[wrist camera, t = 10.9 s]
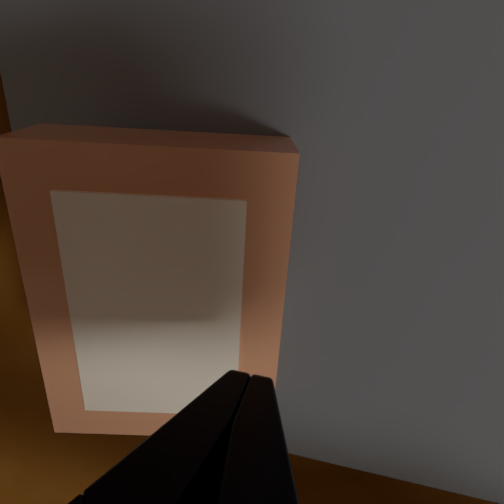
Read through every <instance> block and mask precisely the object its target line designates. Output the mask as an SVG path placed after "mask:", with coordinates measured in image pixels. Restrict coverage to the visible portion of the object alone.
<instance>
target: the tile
mask: <svg viewBox="0 0 504 504" xmlns="http://www.w3.org/2000/svg"><path fill="white" fill-rule="evenodd" d="M299 155H300V153H299V152H298V150H297V148H296V146H295V144H294V143H293V141H292V139H291V137H283V136H264V135H246V134H228V133H210V132H191V131H173V130H155V129H137V128H118V127H100V126H82V125H63V124H45V123H39V124H36V125H32V126H29V127H26V128H22V129H19V130H15V131H12V132H8V133H5V134H1V135H0V176H1V181H2V185H3V190H4V195H5V200H6V204H7V209H8V214H9V219H10V223H11V228H12V233H13V238H14V242H15V247H16V252H17V257H18V261H19V266H20V271H21V275H22V280H23V285H24V290H25V294H26V299H27V304H28V309H29V313H30V318H31V323H32V328H33V332H34V337H35V342H36V347H37V351H38V356H39V361H40V366H41V370H42V375H43V380H44V385H45V389H46V394H47V399H48V404H49V408H50V413H51V418H52V423H53V427H54V432H56V433H87V434H119V435H152V434H153V433H154V432H155V431H156V430H158V429H159V428H160V427H161V426H162V425H164V424H165V423H166V422H167V421H169V420H170V419H171V418H172V417H173V416H175V415H176V414H177V413H178V412H179V411H181V410H182V409H183V408H184V407H185V406H187V405H188V404H189V403H190V402H191V401H193V400H194V399H195V398H196V397H197V396H199V395H200V394H201V393H202V392H203V391H205V390H206V389H207V388H208V387H210V386H211V385H212V384H213V383H214V382H216V381H217V380H218V379H219V378H220V377H222V376H223V375H224V374H225V373H226V372H228V371H229V370H237V371H242V372H246V373H249V374H250V376H252V375H253V374H256V375H261V376H266V377H270V378H271V379H272V380H273V383H274V388H275V387H276V378H277V368H278V358H279V349H280V339H281V329H282V320H283V310H284V300H285V291H286V281H287V271H288V261H289V252H290V242H291V232H292V223H293V213H294V203H295V194H296V184H297V174H298V165H299Z"/></svg>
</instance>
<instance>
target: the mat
mask: <svg viewBox="0 0 504 504" xmlns="http://www.w3.org/2000/svg"><path fill="white" fill-rule="evenodd" d="M0 73H1V78H2V84H3V89H4V94H5V100H6V105H7V110H8V115H9V121H10V126H11V131H15V130H19V129H22V128H26V127H29V126H32V125H36V124H39V123H45V124H63V125H82V126H100V127H118V128H137V129H155V130H173V131H191V132H210V133H228V134H246V135H264V136H283V137H291V139H292V141H293V143H294V144H295V146H296V148H297V150H298V152H299V153H300V155H299V165H298V174H297V184H296V194H295V203H294V213H293V223H292V232H291V242H290V252H289V261H288V271H287V281H286V291H285V300H284V310H283V320H282V329H281V339H280V349H279V358H278V368H277V378H276V387H275V392H276V397H277V402H278V407H279V411H280V416H281V421H282V425H283V430H284V435H285V440H286V444H287V449H288V453H290V454H294V455H298V456H302V457H306V458H310V459H315V460H319V461H323V462H327V463H331V464H336V465H340V466H344V467H348V468H352V469H357V470H361V471H365V472H369V473H373V474H378V475H382V476H386V477H390V478H394V479H399V480H403V481H407V482H411V483H415V484H420V485H424V486H428V487H432V488H436V489H441V490H445V491H449V492H453V493H457V494H462V495H466V496H470V497H474V498H478V499H483V500H487V501H491V502H495V503H499V504H504V0H0Z"/></svg>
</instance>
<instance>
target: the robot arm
mask: <svg viewBox="0 0 504 504" xmlns="http://www.w3.org/2000/svg"><path fill="white" fill-rule="evenodd" d="M68 504H299V501H298V496H297V491H296V487H295V482H294V477H293V473H292V468H291V463H290V458H289V454H288V449H287V444H286V440H285V435H284V430H283V425H282V421H281V416H280V411H279V407H278V402H277V397H276V392H275V388H274V383H273V380H272V379H271V378H270V377H266V376H261V375H256V374H253V375H252V376H250V374H249V373H246V372H242V371H237V370H229V371H228V372H226V373H225V374H224V375H223V376H222V377H220V378H219V379H218V380H217V381H216V382H214V383H213V384H212V385H211V386H210V387H208V388H207V389H206V390H205V391H203V392H202V393H201V394H200V395H199V396H197V397H196V398H195V399H194V400H193V401H191V402H190V403H189V404H188V405H187V406H185V407H184V408H183V409H182V410H181V411H179V412H178V413H177V414H176V415H175V416H173V417H172V418H171V419H170V420H169V421H167V422H166V423H165V424H164V425H162V426H161V427H160V428H159V429H158V430H156V431H155V432H154V433H153V434H152V435H150V436H149V437H148V438H147V439H146V440H144V441H143V442H142V443H141V444H140V445H138V446H137V447H136V448H135V449H134V450H132V451H131V452H130V453H129V454H128V455H126V456H125V457H124V458H123V459H122V460H120V461H119V462H118V463H117V464H115V465H114V466H113V467H112V468H111V469H109V470H108V471H107V472H106V473H105V474H103V475H102V476H101V477H100V478H99V479H97V480H96V481H95V482H94V483H93V484H91V485H90V486H89V487H88V488H87V489H85V491H84V496H83V494H79V495H78V496H77V497H75V498H74V499H73V500H72V501H71V502H69V503H68Z"/></svg>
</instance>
